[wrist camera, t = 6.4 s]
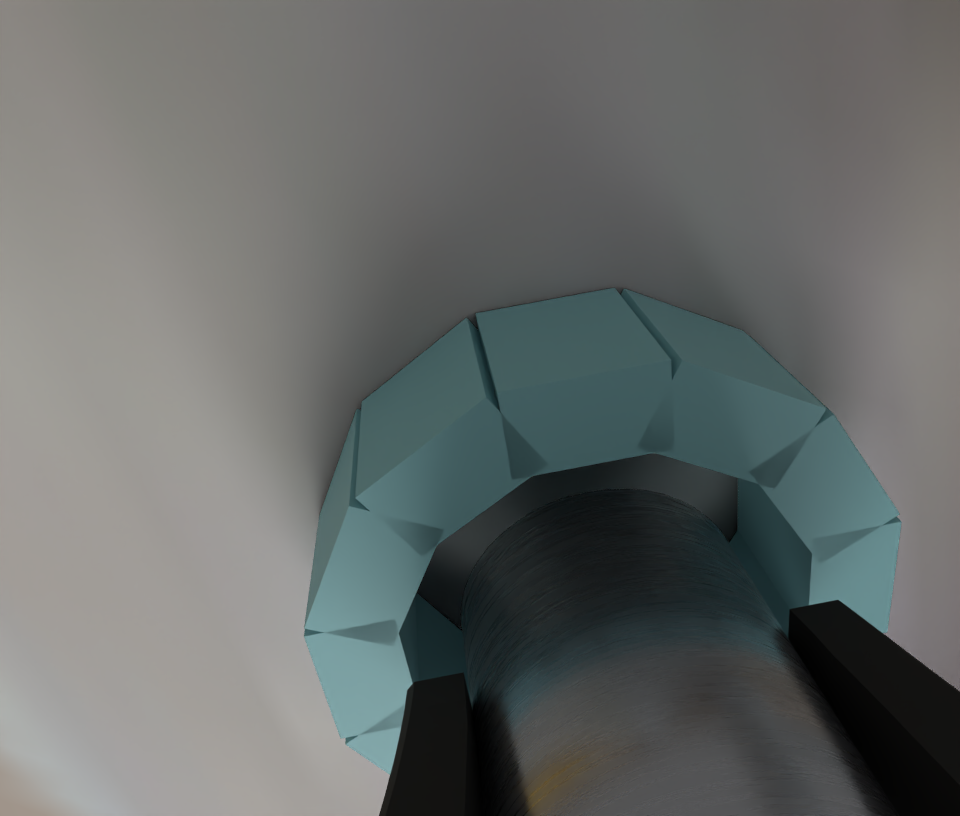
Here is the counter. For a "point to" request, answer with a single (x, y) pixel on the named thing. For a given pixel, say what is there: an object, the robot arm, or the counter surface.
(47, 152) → the counter surface
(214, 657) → the counter surface
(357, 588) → the teal bead ring
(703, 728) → the steel peg
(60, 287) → the counter surface
